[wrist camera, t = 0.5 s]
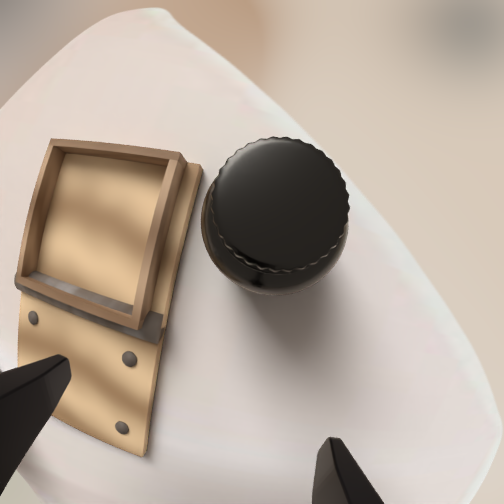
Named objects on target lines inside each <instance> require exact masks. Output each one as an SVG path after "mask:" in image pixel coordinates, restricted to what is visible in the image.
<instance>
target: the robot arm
mask: <svg viewBox="0 0 504 504" xmlns="http://www.w3.org/2000/svg"><path fill="white" fill-rule="evenodd" d="M71 377H72V373H71V367H70V361H69V359H68V358H67V357H65V356H63V355H61V354H56V355H53V356H50V357H47V358H44V359H41V360H38V361H35V362H32V363H29V364H26V365H23V366H20V367H17V368H14V369H11V370H8V371H5V372H2V373H0V496H1V494H2V492H3V490H4V489H5V487H6V485H7V483H8V482H9V480H10V478H11V477H12V475H13V473H14V472H15V470H16V469H17V467H18V465H19V464H20V462H21V461H22V459H23V457H24V456H25V454H26V453H27V451H28V450H29V448H30V446H31V445H32V443H33V442H34V440H35V439H36V437H37V436H38V434H39V433H40V431H41V430H42V428H43V427H44V425H45V424H46V422H47V421H48V419H49V418H50V416H51V415H52V413H53V412H54V410H55V408H56V407H57V405H58V403H59V401H60V399H61V397H62V395H63V393H64V392H65V390H66V388H67V386H68V384H69V382H70V380H71ZM312 504H384V502H383V501H382V499H381V498H380V496H379V495H378V493H377V492H376V491H375V489H374V488H373V486H372V485H371V483H370V482H369V480H368V479H367V477H366V476H365V474H364V473H363V471H362V470H361V468H360V467H359V465H358V464H357V462H356V461H355V459H354V458H353V456H352V455H351V453H350V452H349V450H348V449H347V447H346V446H345V444H344V443H343V441H342V440H341V439H340V438H334V437H329V438H327V439H326V441H325V442H324V444H323V445H322V447H321V448H320V449H319V451H318V454H317V461H316V469H315V476H314V484H313V492H312Z"/></svg>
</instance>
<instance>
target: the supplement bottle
mask: <svg viewBox="0 0 504 504" xmlns="http://www.w3.org/2000/svg"><path fill="white" fill-rule="evenodd" d="M348 198H349V194H348V192H347V191H346V182H345V181H344V180H343V179H342V177H341V173H340V170H339V169H338V168H337V167H335V166H334V163H333V161H332V160H331V159H330V158H328V157H326V155H325V154H324V152H323V151H321V150H318V149H316V148H315V147H314V146H313V145H312V144H308V143H304V142H303V141H301V140H300V139H291V138H288V137H282V138H278V137H270V138H268V139H259V140H257V141H256V142H253V143H248V144H247V145H246V146H245V147H244V148H241V149H239V150H237V151H236V152H235V154H234V155H233V156H231V157H230V158H228V159H227V161H226V164H225V165H224V166H223V167H222V168H221V169H220V170H219V175H218V176H217V177H216V178H215V180H214V181H213V183H212V184H211V186H210V188H209V190H208V192H207V194H206V197H205V199H204V203H203V207H202V212H201V231H202V237H203V241H204V244H205V247H206V250H207V252H208V254H209V256H210V258H211V259H212V261H213V262H214V264H215V265H216V267H217V268H218V269H219V270H220V271H221V272H222V273H223V274H224V275H225V276H226V277H227V278H228V279H230V280H231V281H232V282H234V283H235V284H237V285H238V286H240V287H242V288H244V289H246V290H249V291H252V292H255V293H259V294H265V295H286V294H292V293H296V292H299V291H302V290H304V289H307V288H309V287H311V286H312V285H314V284H316V283H317V282H319V281H320V280H321V279H322V278H324V277H325V276H326V275H327V274H328V273H329V272H330V271H331V269H332V268H333V267H334V266H335V264H336V263H337V261H338V260H339V258H340V256H341V254H342V252H343V249H344V247H345V243H346V240H347V235H348V212H349V210H350V206H349V204H348Z"/></svg>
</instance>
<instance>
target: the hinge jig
mask: <svg viewBox="0 0 504 504" xmlns="http://www.w3.org/2000/svg"><path fill="white" fill-rule="evenodd" d="M202 172H203V169H202V167H201V165H200V164H194V163H189V162H187V161H186V160H185V158H184V157H183V156H182V154H181V153H180V152H175V151H168V150H161V149H154V148H146V147H139V146H130V145H122V144H113V143H103V142H92V141H80V140H67V139H51V140H50V143H49V146H48V148H47V151H46V154H45V157H44V160H43V163H42V166H41V169H40V172H39V175H38V178H37V182H36V185H35V189H34V192H33V196H32V200H31V203H30V207H29V211H28V215H27V220H26V224H25V229H24V234H23V238H22V244H21V249H20V255H19V261H18V267H17V272H16V274H15V280H14V282H15V286H16V288H17V289H18V290H20V291H22V292H21V301H20V313H19V328H18V367H20V366H23V365H26V364H29V363H32V362H35V361H38V360H41V359H44V358H47V357H50V356H53V355H56V354H61V355H63V356H65V357H67V358H68V359H69V361H70V367H71V373H72V377H71V380H70V382H69V384H68V386H67V388H66V390H65V392H64V393H63V395H62V397H61V399H60V401H59V403H58V405H57V407H56V408H55V410H54V412H53V413H52V416H54V417H56V418H57V419H59V420H61V421H63V422H65V423H67V424H68V425H70V426H72V427H74V428H76V429H78V430H80V431H82V432H84V433H86V434H88V435H90V436H92V437H95V438H97V439H99V440H101V441H103V442H106V443H108V444H110V445H113V446H115V447H117V448H120V449H122V450H125V451H127V452H130V453H132V454H135V455H137V456H140V457H143V456H144V454H145V452H146V451H147V444H148V436H149V428H150V420H151V413H152V406H153V399H154V392H155V386H156V379H157V373H158V367H159V361H160V356H161V350H162V344H163V339H164V334H165V328H166V323H167V318H168V313H169V308H170V303H171V298H172V294H173V289H174V284H175V280H176V275H177V271H178V266H179V262H180V257H181V253H182V249H183V245H184V241H185V236H186V232H187V228H188V224H189V220H190V216H191V213H192V209H193V205H194V201H195V197H196V194H197V190H198V186H199V183H200V179H201V175H202Z"/></svg>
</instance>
